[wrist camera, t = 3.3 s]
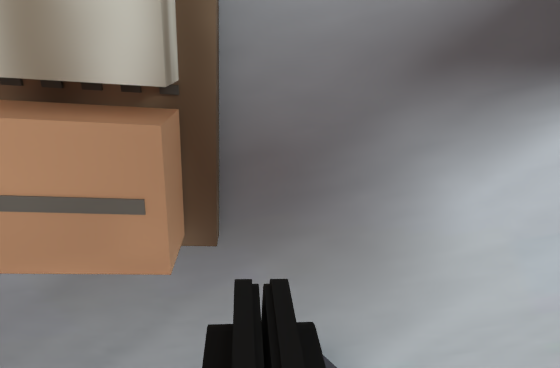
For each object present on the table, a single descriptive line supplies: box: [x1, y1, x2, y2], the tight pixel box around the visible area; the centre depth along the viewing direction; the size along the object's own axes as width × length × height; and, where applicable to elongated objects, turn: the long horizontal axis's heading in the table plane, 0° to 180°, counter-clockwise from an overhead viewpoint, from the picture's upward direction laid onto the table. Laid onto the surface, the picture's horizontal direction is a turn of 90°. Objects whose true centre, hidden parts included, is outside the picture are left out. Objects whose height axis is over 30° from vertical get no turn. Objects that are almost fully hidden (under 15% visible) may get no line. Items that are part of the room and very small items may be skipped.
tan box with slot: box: [0, 100, 185, 275], centre depth 18 cm, size 10×8×4 cm
